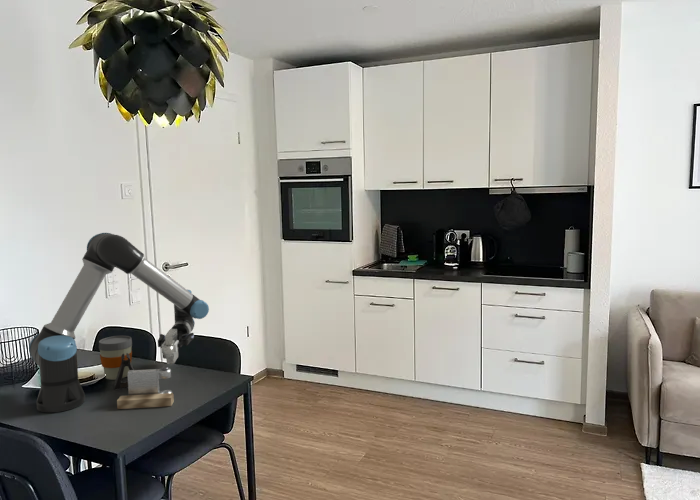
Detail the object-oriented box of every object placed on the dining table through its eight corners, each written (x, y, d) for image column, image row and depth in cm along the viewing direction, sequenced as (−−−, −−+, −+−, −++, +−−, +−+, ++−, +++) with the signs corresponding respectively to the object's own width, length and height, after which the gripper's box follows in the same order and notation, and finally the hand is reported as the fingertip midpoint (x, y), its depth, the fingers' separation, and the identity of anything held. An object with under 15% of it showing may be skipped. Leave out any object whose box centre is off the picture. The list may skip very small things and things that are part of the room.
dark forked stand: (139, 381, 213) (137, 351, 211) (140, 386, 207) (138, 355, 206) (114, 384, 209) (112, 354, 208) (114, 389, 204) (112, 358, 202)
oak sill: (117, 409, 185) (116, 400, 185) (121, 404, 190) (120, 395, 189) (171, 406, 188) (171, 397, 187) (173, 401, 192) (173, 393, 192)
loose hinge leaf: (162, 368, 196) (160, 338, 195) (169, 356, 210) (168, 329, 208) (173, 367, 197) (171, 338, 196) (180, 356, 210) (178, 328, 209)
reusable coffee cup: (96, 375, 220) (93, 339, 218) (127, 368, 228) (125, 333, 226) (106, 383, 210) (104, 346, 209) (138, 375, 219) (136, 339, 217)
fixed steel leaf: (128, 403, 190) (126, 371, 189) (131, 399, 194) (129, 367, 193) (170, 401, 192) (169, 369, 191) (173, 396, 196) (171, 365, 195)
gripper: (201, 340, 224) (192, 357, 200) (159, 342, 221) (145, 359, 198) (200, 322, 223) (191, 337, 200) (158, 324, 221) (144, 340, 197)
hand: (168, 348), depth 199 cm, fingers closed on loose hinge leaf, 4 cm apart
